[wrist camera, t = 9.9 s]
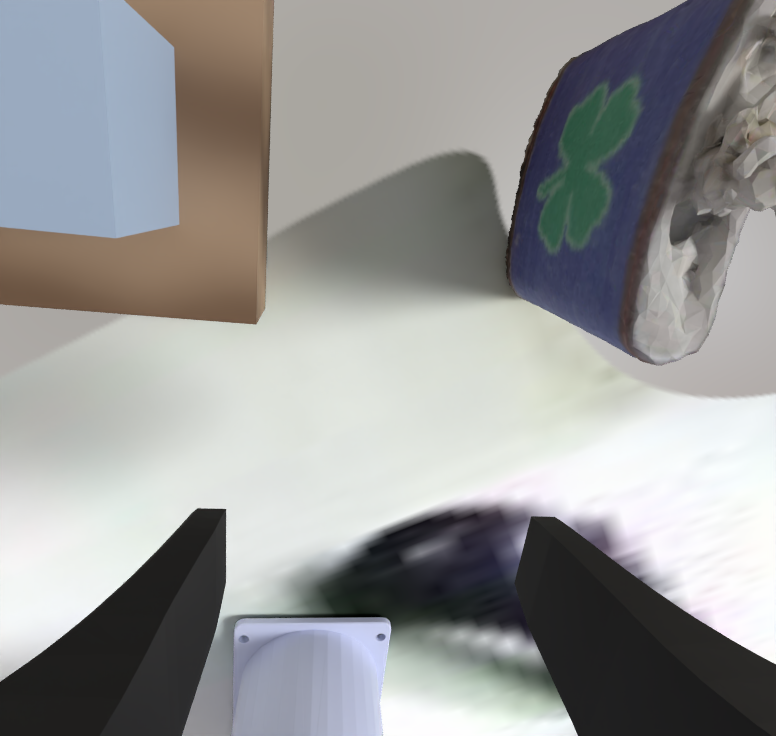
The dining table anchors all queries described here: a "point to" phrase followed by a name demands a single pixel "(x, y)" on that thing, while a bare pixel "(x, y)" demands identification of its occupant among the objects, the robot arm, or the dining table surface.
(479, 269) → the dining table surface
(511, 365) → the dining table surface
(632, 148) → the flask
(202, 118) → the walnut base
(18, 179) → the slate cube
